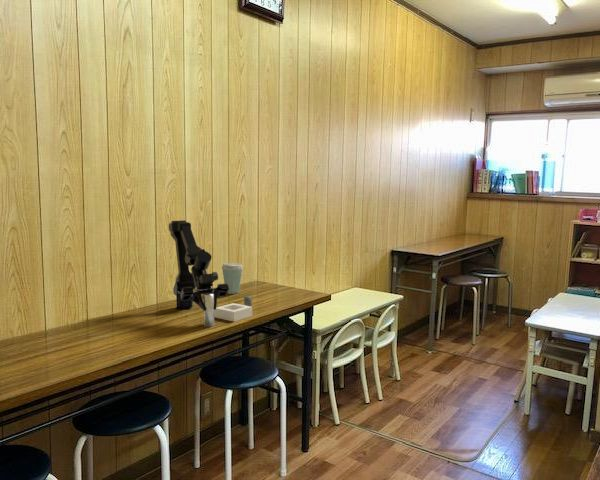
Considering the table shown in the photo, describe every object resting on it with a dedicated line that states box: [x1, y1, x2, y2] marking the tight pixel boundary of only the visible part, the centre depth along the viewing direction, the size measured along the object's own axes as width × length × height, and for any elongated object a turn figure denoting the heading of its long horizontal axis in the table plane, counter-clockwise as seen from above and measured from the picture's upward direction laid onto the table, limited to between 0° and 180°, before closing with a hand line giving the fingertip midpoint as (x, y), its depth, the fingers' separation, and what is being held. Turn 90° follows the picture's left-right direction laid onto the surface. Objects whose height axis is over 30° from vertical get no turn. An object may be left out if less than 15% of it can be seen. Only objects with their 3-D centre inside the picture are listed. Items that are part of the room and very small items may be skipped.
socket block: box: [214, 302, 253, 322], centre depth 221 cm, size 11×11×4 cm
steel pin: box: [203, 293, 215, 328], centre depth 207 cm, size 4×4×12 cm
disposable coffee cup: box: [221, 262, 244, 295], centre depth 267 cm, size 11×11×15 cm
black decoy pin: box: [243, 295, 253, 308], centre depth 232 cm, size 3×3×6 cm
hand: (210, 309), depth 206 cm, fingers closed on steel pin, 4 cm apart
